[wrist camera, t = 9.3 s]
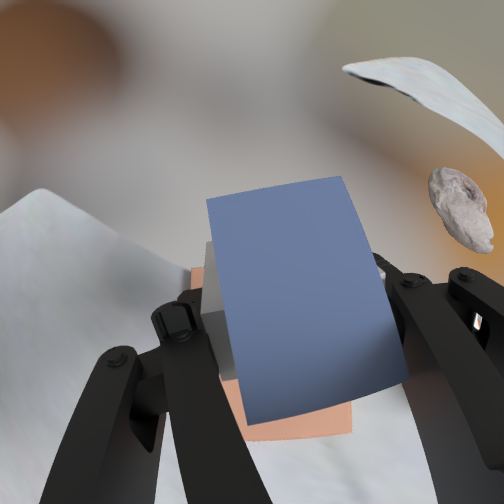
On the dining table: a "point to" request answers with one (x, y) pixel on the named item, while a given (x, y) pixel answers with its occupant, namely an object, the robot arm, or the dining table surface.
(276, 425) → the plate
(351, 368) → the block
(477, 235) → the fossil
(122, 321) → the dining table surface
